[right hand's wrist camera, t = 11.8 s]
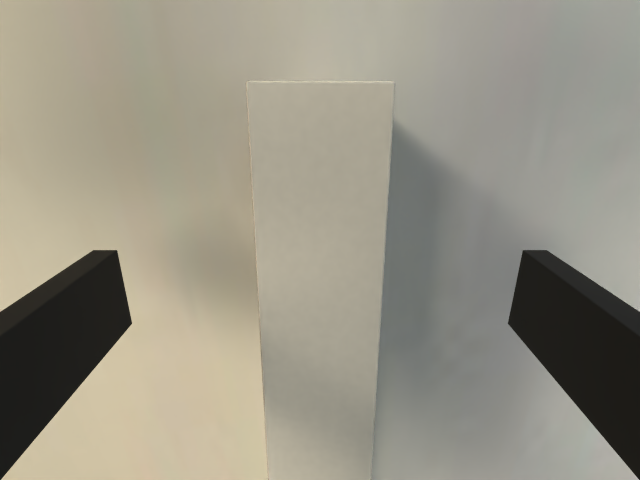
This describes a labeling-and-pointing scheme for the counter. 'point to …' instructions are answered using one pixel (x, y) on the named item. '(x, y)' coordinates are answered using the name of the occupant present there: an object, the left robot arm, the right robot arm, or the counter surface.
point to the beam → (320, 268)
